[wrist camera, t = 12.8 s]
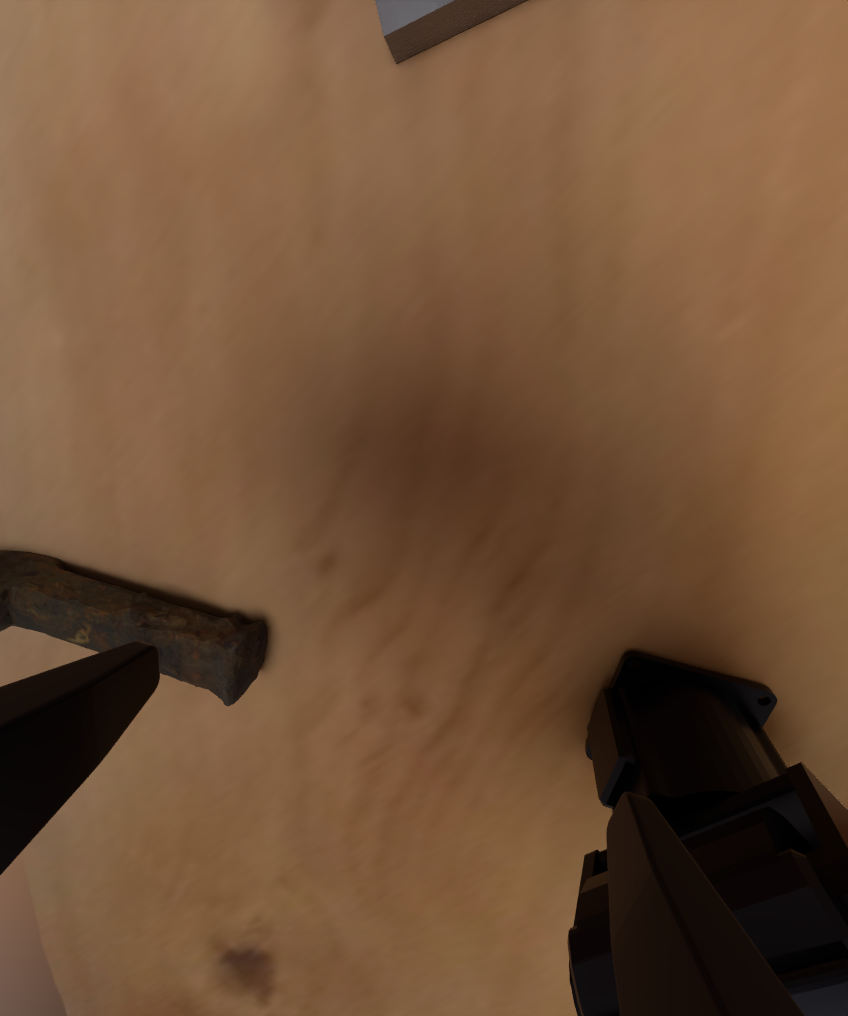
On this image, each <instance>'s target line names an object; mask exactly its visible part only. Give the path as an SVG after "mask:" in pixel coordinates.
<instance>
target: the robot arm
mask: <svg viewBox="0 0 848 1016" xmlns="http://www.w3.org/2000/svg"><path fill="white" fill-rule="evenodd" d="M632 661H638V663H637V664H635V665H631V664H630V662H632ZM159 679H160V669H159V650H158V648H157V647H156V646H155V645H152V644H149V643H146V642H142V641H133V642H130V643H127V644H124V645H121V646H118V647H115V648H112V649H109V650H106V651H103V652H101V653H98V654H95V655H92V656H89V657H86V658H83V659H80V660H77V661H74V662H71V663H69V664H66V665H63V666H60V667H57V668H54V669H51V670H48V671H45V672H42V673H39V674H37V675H34V676H31V677H28V678H25V679H22V680H19V681H16V682H13V683H10V684H7V685H5V686H2V687H0V875H1V874H2V873H3V872H4V871H5V870H6V868H7V867H8V866H9V865H10V864H11V863H12V862H13V861H14V859H15V858H16V857H17V856H18V855H19V854H20V853H21V852H22V851H23V849H24V848H25V847H26V846H27V845H28V844H29V843H30V842H31V840H32V839H33V838H34V837H35V836H36V835H37V834H38V833H39V831H40V830H41V829H42V828H43V827H44V826H45V825H46V824H47V823H48V821H49V820H50V819H51V818H52V817H53V816H54V815H55V814H56V812H57V811H58V810H59V809H60V808H61V807H62V806H63V805H64V803H65V802H66V801H67V800H68V799H69V798H70V797H71V796H72V795H73V793H74V792H75V791H76V790H77V789H78V788H79V787H80V786H81V784H82V783H83V782H84V781H85V780H86V779H87V778H88V777H89V775H90V774H91V773H92V772H93V771H94V770H95V768H96V767H97V766H98V765H99V764H100V763H101V761H102V760H103V759H104V758H105V756H106V755H107V754H108V753H109V751H110V750H111V749H112V747H113V746H114V745H115V743H116V742H117V741H118V739H119V738H120V737H121V735H122V734H123V733H124V731H125V730H126V729H127V727H128V726H129V725H130V723H131V722H132V721H133V719H134V718H135V717H136V715H137V714H138V713H139V711H140V710H141V709H142V707H143V706H144V705H145V703H146V702H147V701H148V699H149V698H150V697H151V695H152V694H153V693H154V691H155V690H156V688H157V686H158V683H159ZM762 696H766V697H765V698H763V699H759V698H760V697H762ZM776 703H777V698H776V696H775V695H774V693H773V692H772V691H771V690H770V689H769V688H768V687H766V686H763V685H759V684H756V683H752V682H748V681H745V680H741V679H737V678H734V677H730V676H726V675H723V674H719V673H715V672H712V671H708V670H704V669H700V668H697V667H693V666H689V665H686V664H682V663H678V662H675V661H671V660H667V659H664V658H660V657H656V656H653V655H649V654H645V653H641V652H638V651H629V652H627V653H625V654H624V655H623V656H622V658H621V661H620V663H619V665H618V668H617V670H616V673H615V675H614V677H613V680H612V682H611V685H610V687H606V688H605V689H604V690H602V693H601V695H600V697H599V700H598V702H597V705H596V707H595V710H594V712H593V714H592V717H591V719H590V722H589V724H588V727H587V730H588V736H589V737H588V739H587V742H586V744H585V749H586V754H587V757H588V758H589V759H591V760H593V767H594V773H595V779H596V785H597V791H598V797H599V800H600V801H601V803H602V805H603V806H605V807H609V808H612V812H613V814H612V816H611V818H610V820H609V822H608V826H607V849H606V850H603V851H601V852H600V851H598V850H595V851H593V852H590V853H588V854H586V855H585V857H584V863H583V869H582V876H581V882H580V888H579V895H578V901H577V907H576V914H575V920H574V926H573V927H572V928H570V930H569V934H568V951H569V971H570V984H571V988H572V994H573V999H574V1004H575V1008H576V1011H577V1015H578V1016H848V810H847V809H846V808H845V807H844V806H843V805H842V804H841V803H840V802H839V801H838V800H837V799H836V798H835V797H834V796H833V795H832V794H831V793H830V792H829V791H828V789H827V788H826V787H825V786H824V785H823V784H822V783H821V782H820V781H819V780H818V779H817V778H816V777H815V776H814V775H813V774H812V773H811V772H810V771H809V770H808V769H807V767H806V766H805V765H804V764H803V763H802V762H801V763H798V764H796V765H794V766H791V767H789V768H787V766H786V765H785V763H784V762H783V760H782V758H781V757H780V755H779V754H778V752H777V750H776V749H775V747H774V746H773V744H772V742H771V741H770V739H769V738H768V736H767V734H766V733H765V731H764V730H763V728H762V727H763V725H764V724H765V722H766V720H767V719H768V717H769V715H770V714H771V712H772V710H773V709H774V707H775V705H776Z"/></svg>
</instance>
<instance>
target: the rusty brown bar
mask: <svg viewBox="0 0 848 1016" xmlns="http://www.w3.org/2000/svg"><path fill="white" fill-rule="evenodd" d="M10 626H17V627H22V628H25V629H30V630H34V631H38V632H42V633H45V634H47V635H50V636H52V637H55V638H58V639H61V640H64V641H67V642H70V643H73V644H76V645H79V646H82V647H85V648H88V649H91V650H94V651H97V652H100V653H101V652H103V651H106V650H109V649H112V648H115V647H118V646H121V645H124V644H127V643H130V642H133V641H142V642H146V643H149V644H152V645H155V646H156V647H157V648H158V650H159V669H160V673H161V674H163V675H168V676H171V677H173V678H175V679H177V680H179V681H184V682H187V683H189V684H192V685H195V686H196V687H201V688H205V689H209V690H210V691H211V692H213V693H214V694H215V695H216V696H218V698H220V699H221V700H222V701H223V702H224V703H223V704H225V705H226V706H230V705H232V704H234V703H235V702H236V701H237V700H239V698H240V697H241V696H242V695H243V694H244V693H245V691H246V690H247V689H248V687H249V686H250V685H251V683H252V682H253V681H254V680H255V679H256V678H257V676H258V672H259V670H260V668H261V665H262V663H263V661H264V653H265V649H266V645H267V632H266V626H265V624H264V623H263V622H255V623H252V624H250V625H245V623H244V622H243V621H242V620H241V618H240V617H239V616H238V615H234V616H231V617H229V618H220V617H216V616H212V615H209V614H206V613H203V612H200V611H197V610H194V609H190V608H185V607H181V606H178V605H174V604H171V603H168V602H165V601H161V600H158V599H155V598H154V597H151V596H149V595H148V594H147V593H146V592H143V593H136V592H133V591H131V590H128V589H125V588H122V587H120V586H115V585H111V584H107V583H104V582H101V581H98V580H95V579H92V578H89V577H85V576H82V575H79V574H76V573H72V572H69V571H67V568H66V566H65V564H64V563H63V562H62V561H61V560H60V559H57V558H54V557H50V556H46V555H40V554H35V553H26V552H14V551H0V631H2V630H4V629H6V628H8V627H10Z"/></svg>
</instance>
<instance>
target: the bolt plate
mask: <svg viewBox="0 0 848 1016" xmlns="http://www.w3.org/2000/svg"><path fill="white" fill-rule="evenodd" d="M375 1H376V5H377V9H378V13H379V18H380V22H381V26H382V30H383V35H384V38H385V40H386V42H387V44H388V46H389V49H390V51H391V53H392V55H393V58H394V60H395V62H396V63H399V62H401V61H403V60H405V59H407V58H409V57H411V56H413V55H415V54H417V53H419V52H421V51H423V50H425V49H427V48H429V47H431V46H433V45H436V44H438V43H440V42H442V41H444V40H446V39H448V38H450V37H452V36H454V35H456V34H458V33H460V32H462V31H464V30H466V29H468V28H470V27H472V26H475V25H477V24H479V23H481V22H483V21H485V20H487V19H489V18H491V17H493V16H495V15H497V14H499V13H501V12H503V11H505V10H507V9H509V8H512V7H514V6H516V5H518V4H520V3H522V2H524V1H526V0H375Z"/></svg>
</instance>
